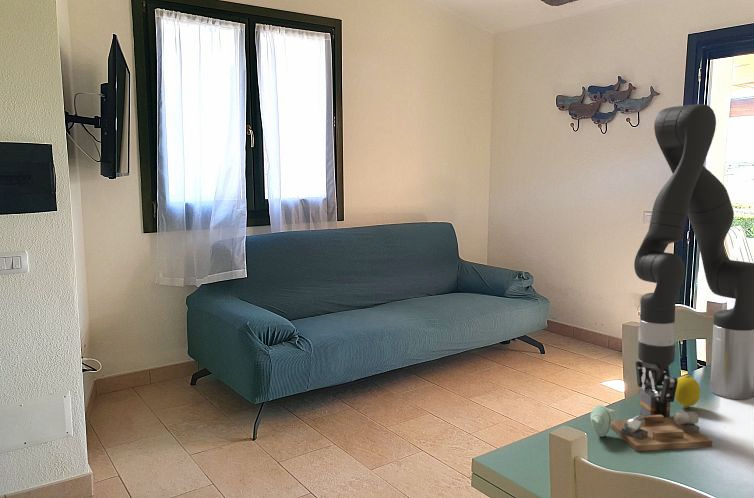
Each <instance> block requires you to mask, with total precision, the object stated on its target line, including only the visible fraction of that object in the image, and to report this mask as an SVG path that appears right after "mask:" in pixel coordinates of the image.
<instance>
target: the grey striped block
mask: <svg viewBox="0 0 754 498" xmlns="http://www.w3.org/2000/svg"><path fill="white" fill-rule="evenodd" d="M661 392H662V391H660V397H661ZM668 395H670V394H668ZM639 404H640V405H639V414H640V415H639V416H646V415H655V407H656V397H655V392H654V391H653V390H652V389H641V388H640V400H639ZM666 417H671V402H667V415H666Z"/></svg>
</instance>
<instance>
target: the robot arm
mask: <svg viewBox="0 0 754 498" xmlns="http://www.w3.org/2000/svg"><path fill="white" fill-rule="evenodd" d="M714 111H715V110H713V109H712V107H711V106H709V104H705V103H698V104H687V105H679V106H671V107H670V106H669V107H666V108H663V109H661V110H660V111H659V112H658V113H657V115H656V116H655V118H654V124H653V125H654V127H653V130H654V135H655V140H656V141H657V144H658V146H659V148H660V150H661V153H662V154H663V156H664V159H665V162H667V165H668V166H669V169H670V171H671V173H672V175H671V176H670V178H668V180H667V181H666V183H664V185H663V186H662V188H661V189H660V191H659V192H658V194H657V196H656V198H655V199H654V202H653V206H652V211H651V216H650V221H649V226H648V231H647V233H646V234H645V236H644V237H643V240H642V242H641V244H640V247H639V249H638V251H637V252H636V254H635V256H634V257H635V259H634V264H633V266H634V267H633V268H634V272H635V275H636V276H637V277H638V278H639V279H640V280H642V281H644V282H649V283H653V284H654V283H655V284H656V285H655V289H654V291H653V292H648V293H644V294H643V295H642V296H641V299H640V309H639V311H640V313H639V315H640V317H639V325H638V335H637V336H638V339H637V341H638V342H637V343H638V345H637V358H638V361H635V369H636V370H635V371H636V382H637V387H638V388H640V390H641V389H652V390H653V391H654V392H655V397H656V407H655V415H663V416H664V418H666V415H667V402H670V403H674V401H675V393H676V388H677V383H678V380H677V379H678V378H677V377H672V376H671V372H670V367H669V366H671V364H673V363H674V362H675V359H676V358H675V357H676V336H677V335H676V331H677V330H676V325H675V324H676V323H675V322H676V319H675V318H676V302H677V300H678V298H679V294H680V291H681V289H682V286H683V283H684V279H685V275H686V267H685V264H684V261H683V259H682V257H680V256H679V255H678V254H676V253H672V252H671V253H670V252H665V251H666V249H667V247H668V245H670V244H672V243H673V244H674V243H678V242H680V241H682V239H683V236H684V233H685V228H686V223H687V219H688V220H689V223H690V225H691V227H692V230H693V233H694V237H695V240H696V243H697V246H698V249H699V252H700V257H701V261H702V267H703V271H704V275H705V280H706V283H707V286H708V288H709V290H710V291H711V293H713V294H714V295H717V296H719V297H724V298H727V299H728V298H729V299H733V300H735V302H734V305H733V308H729V309H723V310H718V311H716V312H715V313H714V314H713V322H712V323H713V325H712V346H711V368H710V369H711V371H710V391H711V392H712V393H713V394H715V395H717V396H719V397H723V398H727V399H732V400H733V399H735V400H748V399H751V398H753V397H754V262H748V261H740V260H733V259H730V258H729V257H728V254H727V252H726V250H725V249H726V248H725V240H726V237H727V235H728V233H729V231H730V229H731V227H732V224H733V222H734V218H735V212H734V209H733V204H732V202H731V199H730V196H729V193H728V191H727V188H726V187H725V186H724V184H723V183H722V182H721V181H720V179H718V178H717V176H715V175H714V174H713V173H712V172H711V171H710V170H709V169H708V168H706V167H705V166H704V164H705V162H706V159H707V156H708V153H709V151H710V149H711V145H712V143H713V140H714V136H715V133H716V126H717V117H716V114H715V112H714ZM661 386H662V387H661ZM660 391H662V392H661V397H660ZM668 394H669V395H668Z"/></svg>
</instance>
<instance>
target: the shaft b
mask: <svg viewBox="0 0 754 498" xmlns="http://www.w3.org/2000/svg"><path fill="white" fill-rule="evenodd" d="M635 416H636V417H635ZM635 416H634V417H632V418H629V419H630V420H628V421H627V422H625V424H624V427H622V434H625V435H628V436H631V437H634V438H636V439H639V440H643V439H645V438H647V437H648V431H645V430H642V429H640V428H642V427H643V426H644V425H645V420H644V419H643V418H642V417H641V416H642V415H635Z"/></svg>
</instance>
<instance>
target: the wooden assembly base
mask: <svg viewBox="0 0 754 498" xmlns="http://www.w3.org/2000/svg"><path fill="white" fill-rule="evenodd" d="M636 416H637V415H635V416H634V417H636ZM640 416H641V417H642V418H643V419H644V420H645V425H644V426H643V427H642V428H640V429H642V430H645V431H648V437H647V438H645V439H643V440H639V439H636V438H634V437H631V436H628V435H625V434H622V427H624V424H625V422H627V421H628V420H630V419H631V418H628V419H613V420H612V424H611V427H610V429H611V430H613V431H614V432H615V433H616V435H618V436H619V437H620V438H621V439H622V440H623V441H624V442H625V443H626V444H627V445H629V447H631V448H632V449H633V450H634V451H636V452H644V451H647V452H648V451H662V450H675V449H676V450H677V449H692V448H693V449H694V448H707V447H713V440H712V439H710V438H709V437H707V435H705V434H703V433H702V432H700V427H699V426H698V425H697V424H698V423H699V415H698V413H697V412H696V411H683V412H682V411H680V412H674V413H673V416H670V417H666V418H664V416H663V415H646V416H642V415H640Z"/></svg>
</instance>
